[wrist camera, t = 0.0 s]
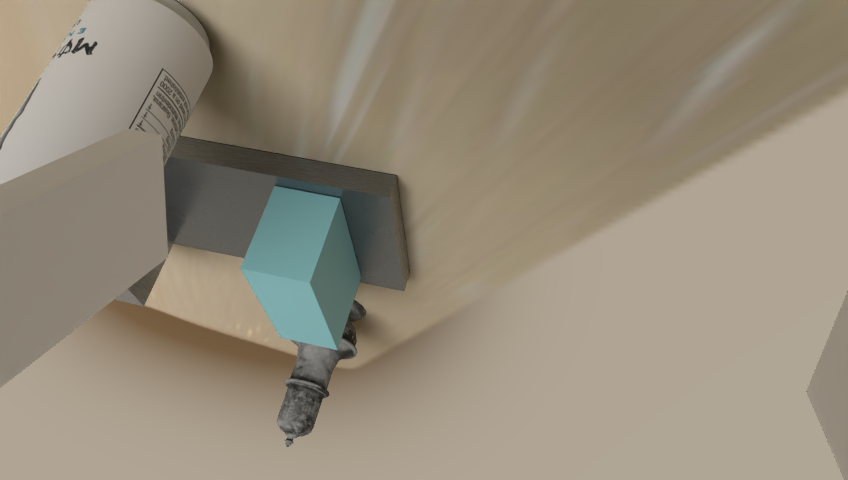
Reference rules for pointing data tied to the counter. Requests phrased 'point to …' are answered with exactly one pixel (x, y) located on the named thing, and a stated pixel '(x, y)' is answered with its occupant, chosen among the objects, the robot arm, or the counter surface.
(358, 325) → the counter surface
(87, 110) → the energy drink can
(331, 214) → the sliding jaw
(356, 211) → the grey base stand
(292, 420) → the salt shaker
